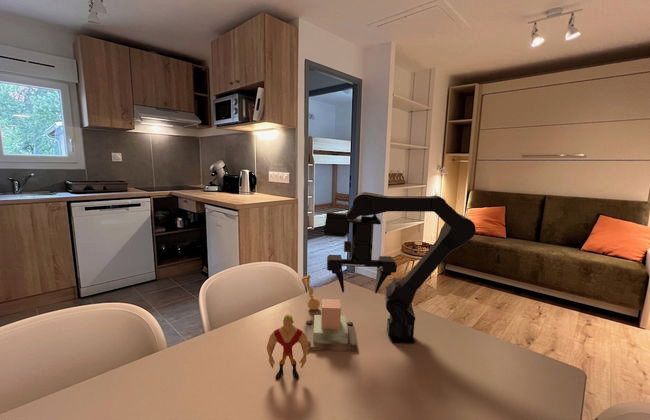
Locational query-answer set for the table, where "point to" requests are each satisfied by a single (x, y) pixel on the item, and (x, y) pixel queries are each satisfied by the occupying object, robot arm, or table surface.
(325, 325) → the terracotta brick
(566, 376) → the table surface
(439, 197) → the robot arm
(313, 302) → the figurine
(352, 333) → the tower base
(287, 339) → the action figure
